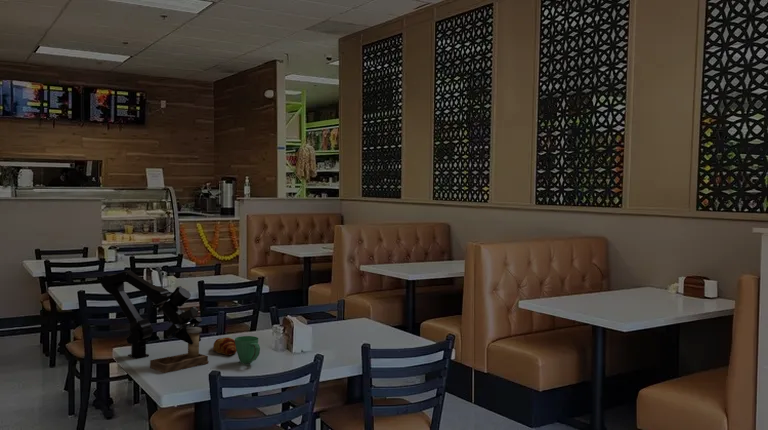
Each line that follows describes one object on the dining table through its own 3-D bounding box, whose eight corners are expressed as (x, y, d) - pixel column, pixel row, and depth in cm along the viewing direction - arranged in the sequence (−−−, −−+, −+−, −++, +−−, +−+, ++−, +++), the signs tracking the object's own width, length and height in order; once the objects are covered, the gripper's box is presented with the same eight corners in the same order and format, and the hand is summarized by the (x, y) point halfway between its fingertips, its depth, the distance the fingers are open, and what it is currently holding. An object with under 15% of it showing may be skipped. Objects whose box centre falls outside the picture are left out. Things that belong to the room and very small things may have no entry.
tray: (165, 373, 258) (165, 365, 258) (150, 367, 265) (150, 360, 265) (208, 363, 273) (208, 356, 273) (193, 358, 280) (193, 351, 280)
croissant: (211, 354, 301) (203, 340, 299) (229, 342, 306) (222, 328, 304) (228, 364, 284) (219, 349, 281) (247, 351, 288) (239, 336, 286)
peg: (182, 359, 274) (183, 328, 274) (197, 357, 278) (197, 326, 278) (189, 362, 269) (189, 330, 269) (203, 360, 273) (204, 329, 273)
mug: (230, 361, 277) (230, 337, 277) (250, 357, 284) (251, 334, 283) (247, 369, 266) (247, 344, 266) (268, 365, 273) (268, 341, 272)
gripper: (172, 304, 265) (195, 334, 262) (198, 298, 283) (220, 325, 280) (155, 322, 268) (178, 352, 265) (182, 314, 286) (204, 342, 283)
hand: (196, 342), depth 273 cm, fingers closed on peg, 5 cm apart
